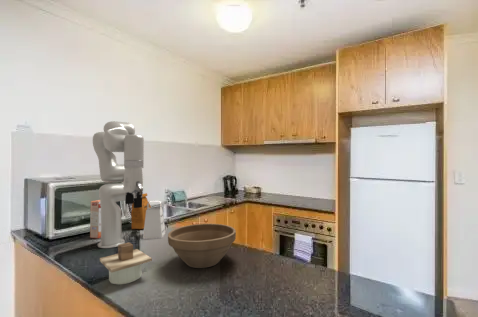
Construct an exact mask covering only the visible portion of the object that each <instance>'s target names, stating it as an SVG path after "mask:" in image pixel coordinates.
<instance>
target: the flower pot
mask: <svg viewBox="0 0 478 317" xmlns="http://www.w3.org/2000/svg"><path fill="white" fill-rule="evenodd" d="M236 233H237V232H236V229H235V228H234V227H232V226H231V225H227V224H222V223H198V224H197V223H196V224H189V225H184V226H180V227H177V228H175V229H171V230H170V231H169V232H168V233H167V241H168V242H167V244H168V245H169V246H170V248H172V249H173V250H174V252H175V254H176V255H177V256H178V258H179V259H181V260H182V261H183V262H184V263H185V264H186V265H187V266H188V267H190V268H195V269H205V268H211V267H214V266H216V265H217V264H219V263H220V261H221V260H222V259H223V258H224V257H225V255H226V254H227V253H228V251H229V250H230V248H231V246H232V244H233V243H234V242H235V241H236V237H237V235H236Z"/></svg>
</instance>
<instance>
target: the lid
mask: <svg viewBox="0 0 478 317" xmlns="http://www.w3.org/2000/svg"><path fill="white" fill-rule="evenodd" d="M152 261H153V258H152V257H151V256H149V255H147V254H146V253H145V252H143V251H141V249H138V248H135V249H134V244H132V243H131V242H125V243H124V244H119V245H118V246H117V253H115V254H111V255H108V256H103V257H99V263H101V264H102V265H103V266H104V267H105V268H106V269H107V270H108V272H109V271H110V272H111V273H112V272H115V271H119V270H122V269H126V268H129V267H133V266H136V265H140V264H142V265H143V264H147V263H149V262H150V263H151V262H152Z"/></svg>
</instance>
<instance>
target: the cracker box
mask: <svg viewBox="0 0 478 317" xmlns="http://www.w3.org/2000/svg"><path fill="white" fill-rule="evenodd" d="M89 218H90V222H89V224H90V226H89V229H90V230H89V238H90V239H101V204H100V199H97V200H91V201H90V215H89Z"/></svg>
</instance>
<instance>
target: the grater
mask: <svg viewBox="0 0 478 317" xmlns="http://www.w3.org/2000/svg"><path fill="white" fill-rule="evenodd" d="M155 202H157V203H159V204H160V205H159V206H160V207H158V206H157V207H151V208H149V204H150V203H155ZM162 203H163V202H162V201H161V200H150V201H148V203H147V210H146V217H145V225H144V228H143V234H142V239H143V240H144V239H145V240H146V239H147V240H149V239H151V240H153V239H162V238H164V236H165V234H166V228H165V227H166V226H165V219H164V211H163V207H162V206H163V205H162Z"/></svg>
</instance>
